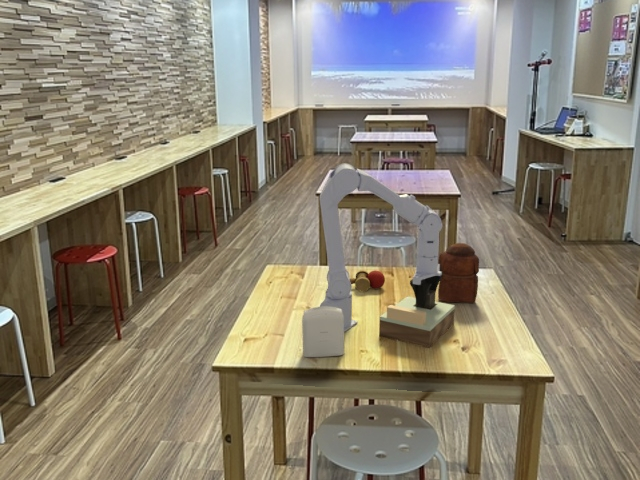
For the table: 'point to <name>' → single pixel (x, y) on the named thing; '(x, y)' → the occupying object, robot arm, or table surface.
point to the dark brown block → (429, 300)
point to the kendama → (368, 280)
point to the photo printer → (323, 332)
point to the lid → (416, 314)
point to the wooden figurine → (458, 274)
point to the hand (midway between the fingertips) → (425, 302)
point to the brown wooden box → (416, 332)
